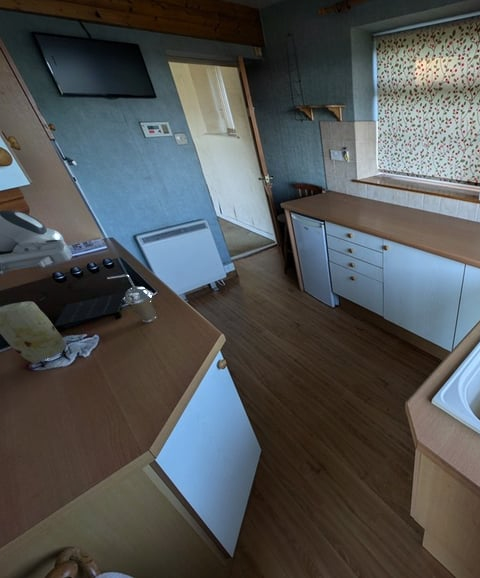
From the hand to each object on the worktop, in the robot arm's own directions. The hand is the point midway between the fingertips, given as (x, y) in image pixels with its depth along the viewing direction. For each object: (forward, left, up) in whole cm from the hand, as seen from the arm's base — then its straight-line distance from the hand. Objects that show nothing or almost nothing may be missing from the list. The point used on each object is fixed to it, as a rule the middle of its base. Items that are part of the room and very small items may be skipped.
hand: (17, 269), depth 89 cm
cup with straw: (+25, -5, -26) cm, 36 cm away
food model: (0, -14, -26) cm, 29 cm away
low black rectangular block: (+7, +9, -25) cm, 28 cm away
